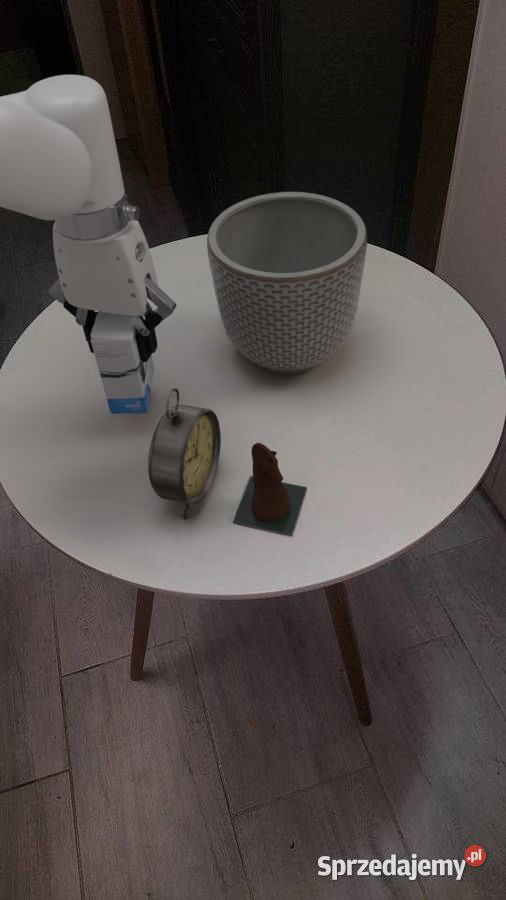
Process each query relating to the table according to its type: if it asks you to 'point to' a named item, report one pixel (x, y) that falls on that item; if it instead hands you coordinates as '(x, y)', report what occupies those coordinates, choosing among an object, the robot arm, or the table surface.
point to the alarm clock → (184, 453)
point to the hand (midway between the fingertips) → (123, 349)
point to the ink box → (121, 364)
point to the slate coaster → (282, 526)
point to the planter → (287, 277)
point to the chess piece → (268, 486)
